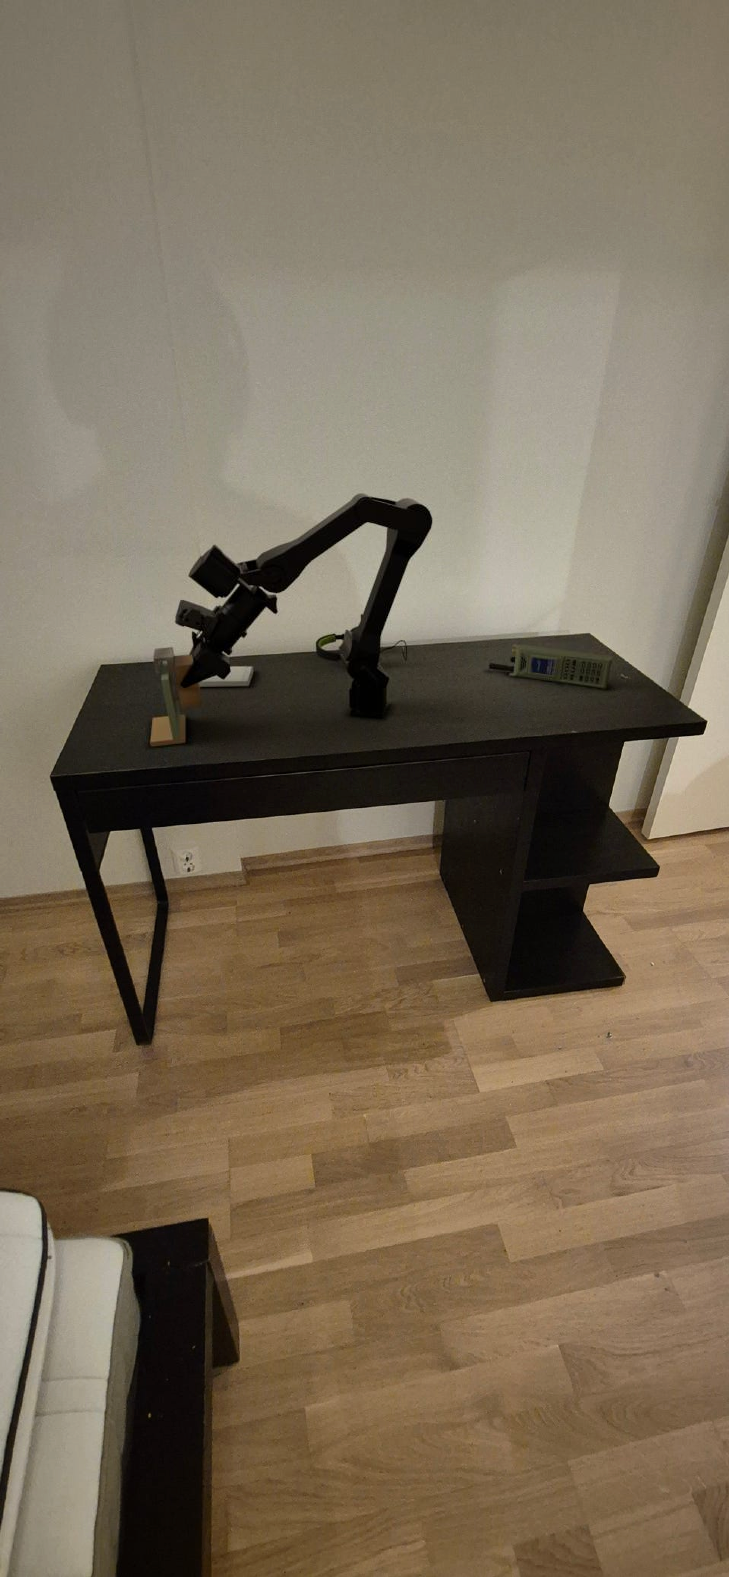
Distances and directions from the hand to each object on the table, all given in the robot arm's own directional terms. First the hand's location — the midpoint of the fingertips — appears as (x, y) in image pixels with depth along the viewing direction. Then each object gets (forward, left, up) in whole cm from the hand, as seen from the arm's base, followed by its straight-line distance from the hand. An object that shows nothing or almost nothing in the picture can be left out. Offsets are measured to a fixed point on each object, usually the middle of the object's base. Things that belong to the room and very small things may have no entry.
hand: (182, 680), depth 118 cm
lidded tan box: (+1, 0, -4) cm, 4 cm away
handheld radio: (-63, -40, -10) cm, 76 cm away
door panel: (+3, +2, -10) cm, 11 cm away
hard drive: (+5, -23, -10) cm, 26 cm away
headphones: (-21, -41, -10) cm, 48 cm away
